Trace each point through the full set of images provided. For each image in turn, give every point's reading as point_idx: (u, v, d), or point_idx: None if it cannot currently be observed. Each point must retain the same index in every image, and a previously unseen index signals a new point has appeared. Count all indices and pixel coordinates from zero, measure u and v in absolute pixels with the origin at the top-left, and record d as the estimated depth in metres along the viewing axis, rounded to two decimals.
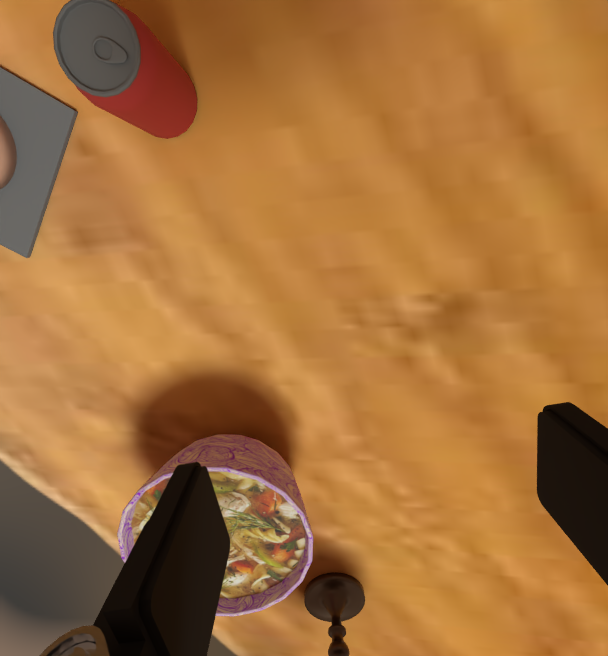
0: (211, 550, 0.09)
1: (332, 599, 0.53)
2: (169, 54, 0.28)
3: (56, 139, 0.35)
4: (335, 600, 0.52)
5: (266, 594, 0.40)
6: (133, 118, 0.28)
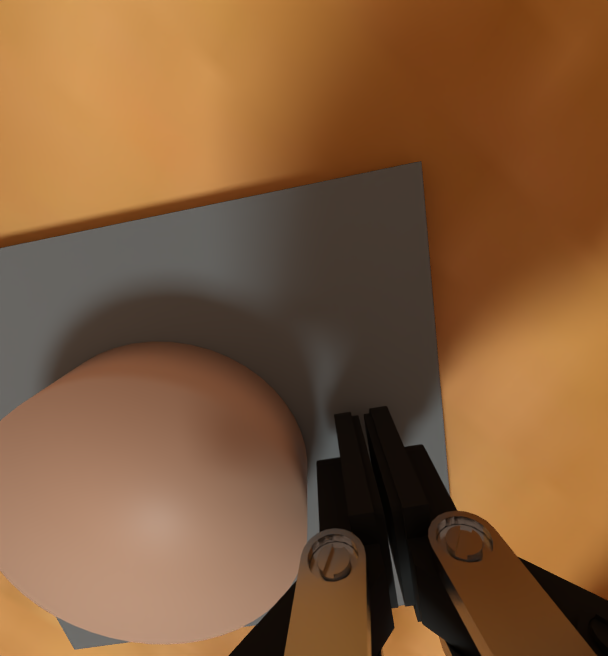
0: None
1: None
2: None
3: None
4: None
5: None
6: None
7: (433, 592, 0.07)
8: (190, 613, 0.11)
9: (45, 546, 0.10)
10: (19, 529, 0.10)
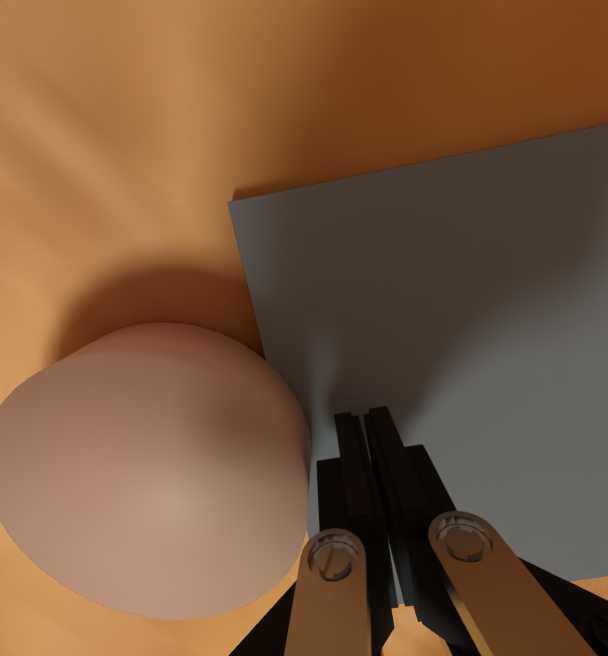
0: None
1: None
2: None
3: None
4: None
5: None
6: None
7: (433, 592, 0.07)
8: (190, 590, 0.11)
9: (52, 516, 0.10)
10: (29, 498, 0.10)
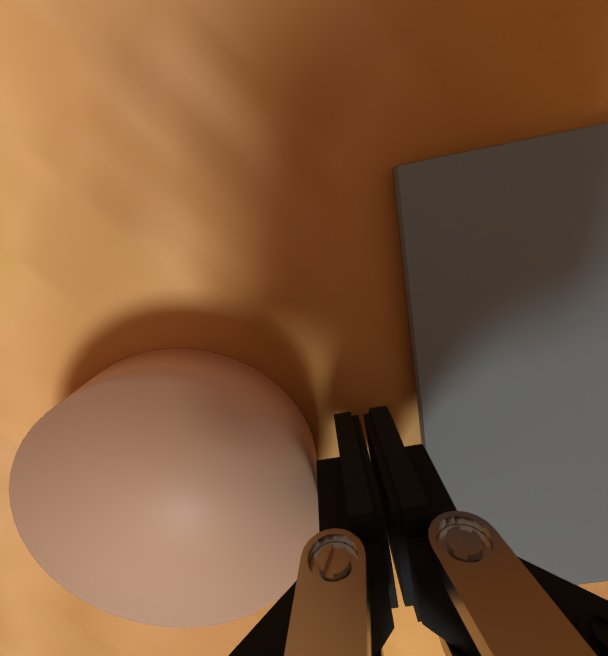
0: None
1: None
2: None
3: None
4: None
5: None
6: None
7: (433, 592, 0.07)
8: (218, 595, 0.11)
9: (80, 542, 0.11)
10: (56, 527, 0.11)
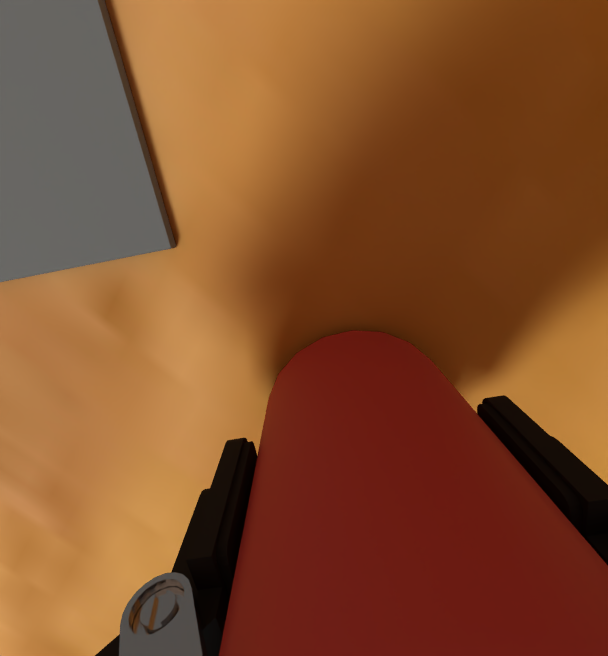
0: None
1: None
2: None
3: (65, 243, 0.11)
4: None
5: None
6: None
7: None
8: None
9: None
10: None
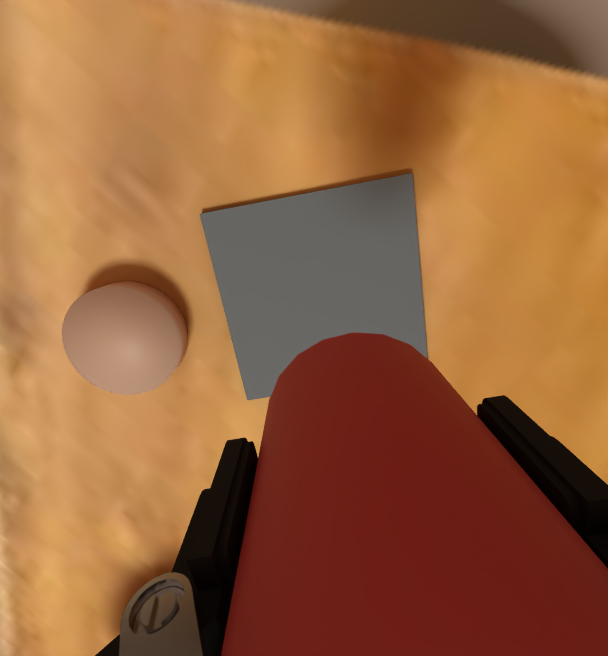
0: None
1: None
2: None
3: None
4: None
5: None
6: None
7: None
8: (130, 381, 0.29)
9: (84, 342, 0.28)
10: (77, 334, 0.28)
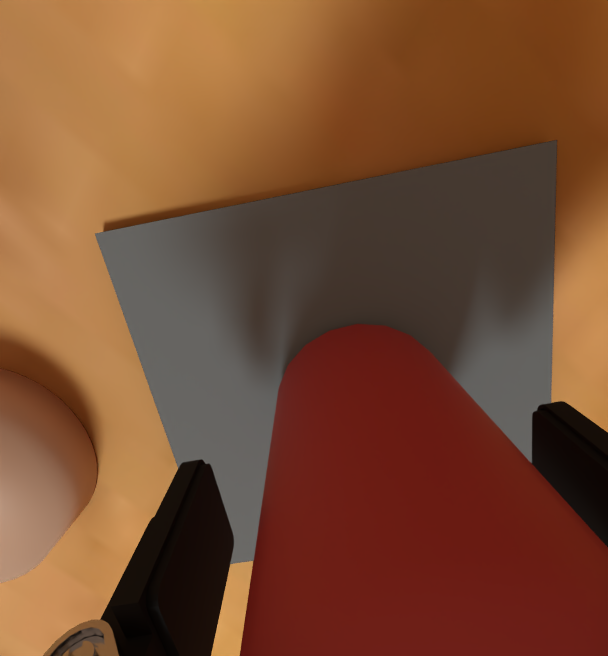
0: (215, 547, 0.09)
1: None
2: None
3: None
4: None
5: None
6: None
7: None
8: None
9: None
10: None
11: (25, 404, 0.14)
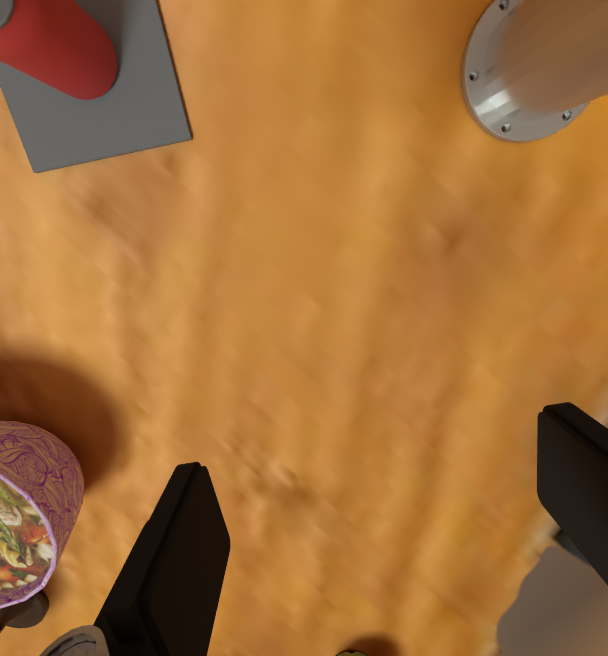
0: (211, 550, 0.09)
1: (12, 606, 0.52)
2: (80, 43, 0.27)
3: (155, 137, 0.34)
4: (14, 609, 0.52)
5: None
6: None
7: None
8: None
9: None
10: None
11: None
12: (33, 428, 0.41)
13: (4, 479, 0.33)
